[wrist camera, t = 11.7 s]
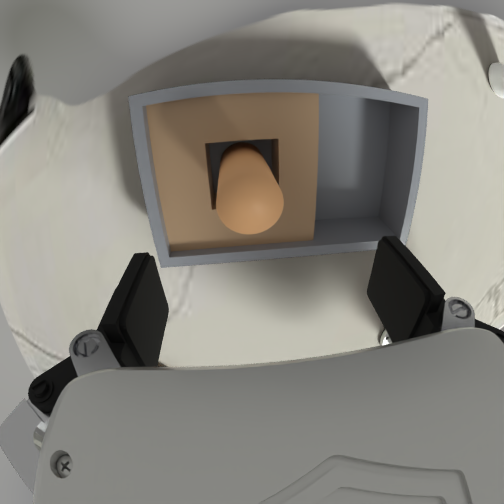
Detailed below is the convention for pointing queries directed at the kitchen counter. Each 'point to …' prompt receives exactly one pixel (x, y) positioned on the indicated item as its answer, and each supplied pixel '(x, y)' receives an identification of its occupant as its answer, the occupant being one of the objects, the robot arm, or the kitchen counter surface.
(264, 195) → the peg
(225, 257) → the box
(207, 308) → the kitchen counter surface
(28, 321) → the kitchen counter surface
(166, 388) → the robot arm
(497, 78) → the drinking glass
